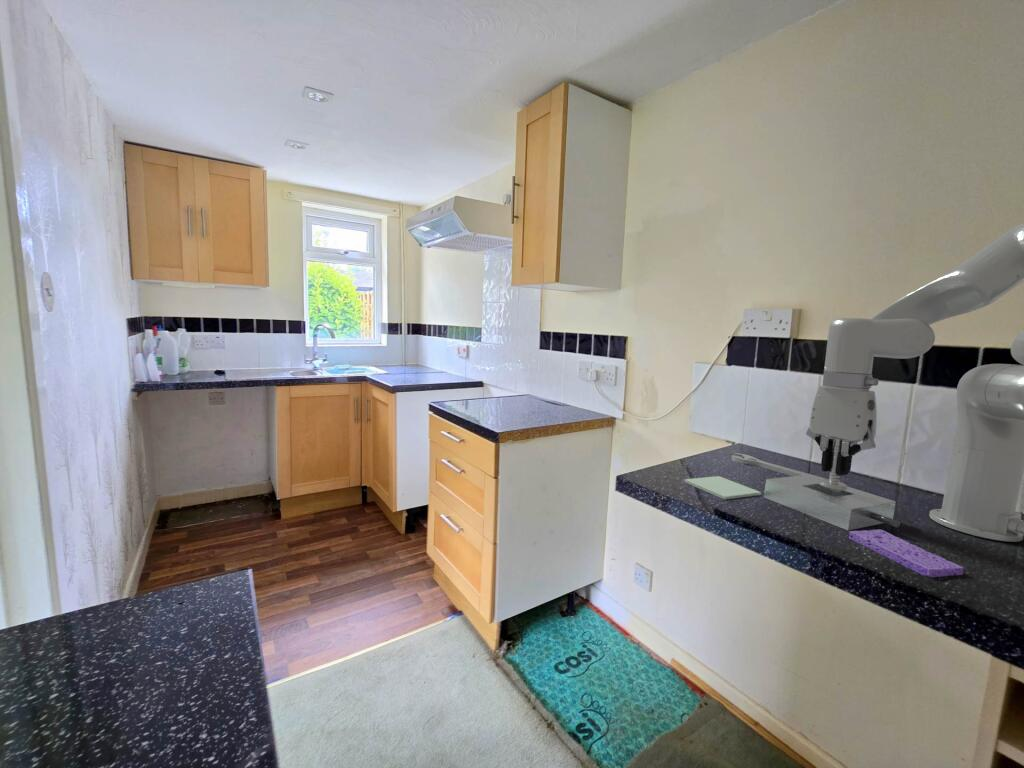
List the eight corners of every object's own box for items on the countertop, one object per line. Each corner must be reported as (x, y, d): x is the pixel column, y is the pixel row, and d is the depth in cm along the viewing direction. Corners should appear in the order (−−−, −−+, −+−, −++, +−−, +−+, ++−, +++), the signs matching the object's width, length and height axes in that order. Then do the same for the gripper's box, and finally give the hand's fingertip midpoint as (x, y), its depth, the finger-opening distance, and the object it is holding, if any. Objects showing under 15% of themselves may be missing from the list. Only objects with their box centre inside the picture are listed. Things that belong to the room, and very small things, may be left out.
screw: (826, 489, 93) (852, 497, 89) (812, 491, 91) (837, 500, 87) (834, 428, 92) (860, 433, 88) (819, 429, 90) (846, 434, 86)
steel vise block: (917, 530, 83) (921, 509, 82) (873, 540, 77) (877, 518, 76) (806, 491, 101) (809, 474, 101) (763, 497, 95) (766, 479, 95)
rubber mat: (760, 494, 97) (761, 492, 97) (724, 499, 92) (725, 496, 92) (718, 478, 107) (718, 476, 106) (684, 481, 102) (684, 479, 102)
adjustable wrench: (834, 487, 108) (835, 480, 108) (820, 490, 105) (821, 483, 104) (739, 458, 129) (740, 452, 129) (725, 459, 126) (726, 453, 126)
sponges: (879, 539, 79) (880, 529, 78) (964, 578, 66) (966, 566, 66) (846, 540, 77) (848, 530, 77) (927, 581, 65) (929, 568, 65)
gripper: (905, 386, 82) (891, 483, 84) (816, 377, 96) (806, 460, 98) (881, 386, 79) (868, 487, 81) (793, 377, 93) (784, 463, 95)
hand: (834, 471), depth 90 cm, fingers closed on screw, 2 cm apart
